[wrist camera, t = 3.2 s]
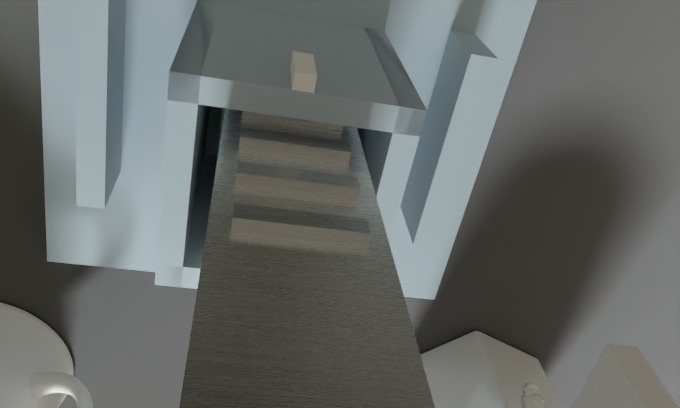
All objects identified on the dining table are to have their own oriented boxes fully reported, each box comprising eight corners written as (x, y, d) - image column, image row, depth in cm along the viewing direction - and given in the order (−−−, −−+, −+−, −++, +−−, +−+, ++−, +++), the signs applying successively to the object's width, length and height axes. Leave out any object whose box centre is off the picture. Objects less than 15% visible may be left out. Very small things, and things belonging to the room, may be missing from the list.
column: (207, 155, 26) (95, 745, 10) (220, 29, 24) (100, 535, 7) (331, 171, 27) (430, 736, 10) (357, 52, 25) (541, 546, 8)
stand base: (54, 245, 29) (-22, 397, 22) (42, -214, 21) (-93, -232, 13) (429, 284, 33) (478, 428, 25) (556, -99, 24) (692, -60, 16)
